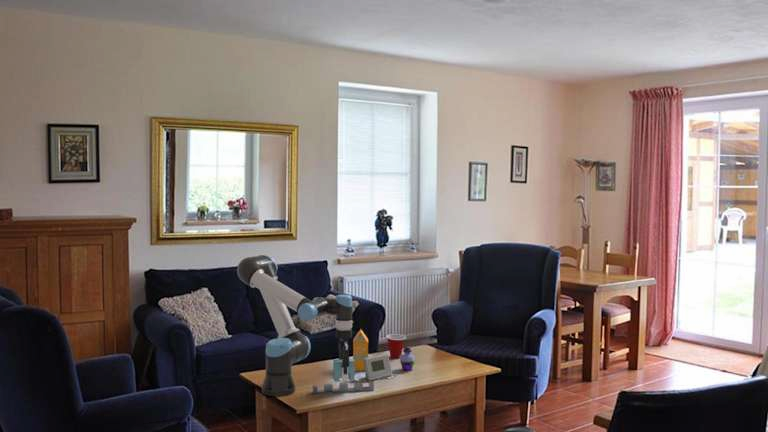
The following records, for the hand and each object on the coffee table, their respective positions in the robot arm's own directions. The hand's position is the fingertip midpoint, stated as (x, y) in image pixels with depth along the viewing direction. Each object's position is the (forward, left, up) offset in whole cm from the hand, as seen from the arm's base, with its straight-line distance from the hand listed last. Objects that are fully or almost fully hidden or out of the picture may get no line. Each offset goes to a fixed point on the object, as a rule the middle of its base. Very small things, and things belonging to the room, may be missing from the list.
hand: (343, 379), depth 310 cm
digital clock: (+21, +19, -6) cm, 28 cm away
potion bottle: (+39, +29, -6) cm, 49 cm away
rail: (0, 0, -6) cm, 6 cm away
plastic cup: (+40, +54, -6) cm, 67 cm away
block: (0, 0, 0) cm, 0 cm away
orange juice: (+16, +36, -6) cm, 40 cm away
